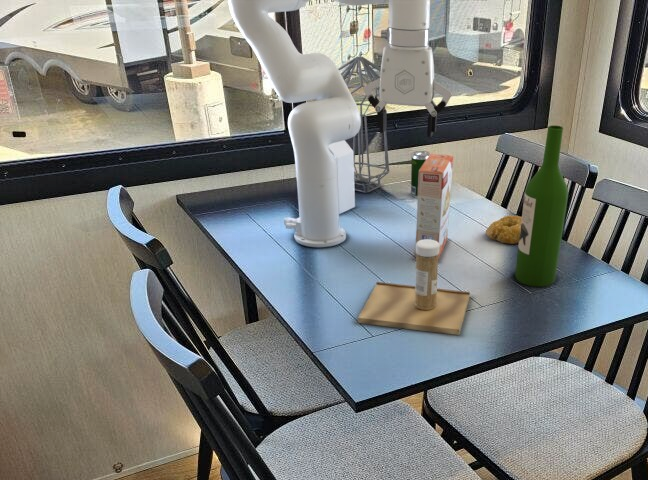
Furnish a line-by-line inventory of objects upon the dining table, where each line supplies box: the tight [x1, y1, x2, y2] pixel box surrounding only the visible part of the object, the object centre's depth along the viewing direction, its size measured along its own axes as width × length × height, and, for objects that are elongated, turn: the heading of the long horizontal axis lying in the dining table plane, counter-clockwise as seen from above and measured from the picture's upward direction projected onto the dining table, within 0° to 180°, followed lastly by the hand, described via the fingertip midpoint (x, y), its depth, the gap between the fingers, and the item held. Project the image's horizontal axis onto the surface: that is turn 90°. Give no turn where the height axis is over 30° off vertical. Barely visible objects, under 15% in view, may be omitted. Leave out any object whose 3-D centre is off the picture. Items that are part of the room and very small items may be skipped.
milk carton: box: [328, 140, 356, 215], centre depth 180 cm, size 7×7×19 cm
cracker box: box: [414, 153, 454, 260], centre depth 158 cm, size 14×6×21 cm, turn 168°
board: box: [357, 281, 471, 336], centre depth 138 cm, size 20×16×2 cm
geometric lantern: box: [338, 56, 390, 194], centre depth 191 cm, size 16×16×35 cm
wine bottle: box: [514, 125, 569, 288], centre depth 143 cm, size 9×9×32 cm
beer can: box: [410, 150, 431, 199], centre depth 192 cm, size 5×5×12 cm
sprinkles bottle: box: [414, 239, 440, 310], centre depth 134 cm, size 5×5×13 cm
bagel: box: [485, 214, 522, 245], centre depth 170 cm, size 10×11×5 cm
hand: (406, 133), depth 136 cm, fingers open, 9 cm apart
